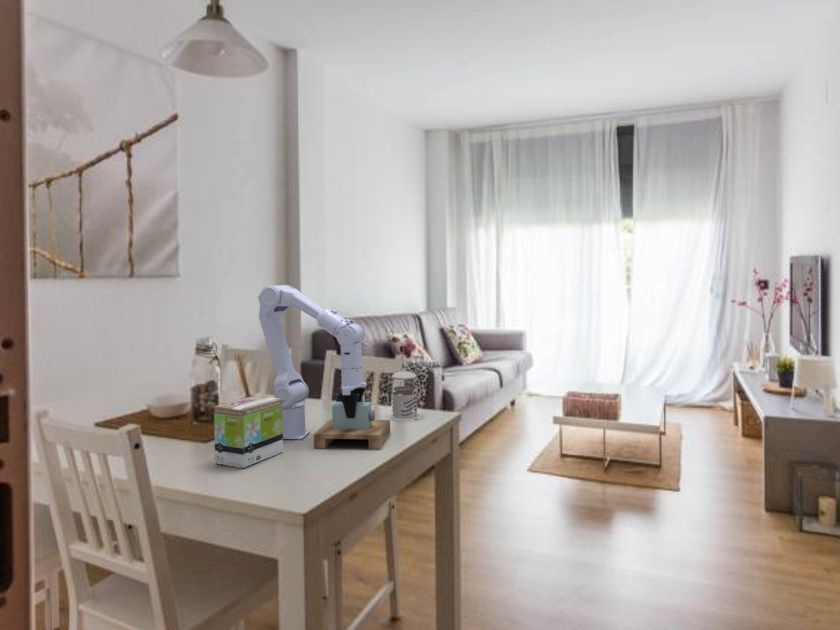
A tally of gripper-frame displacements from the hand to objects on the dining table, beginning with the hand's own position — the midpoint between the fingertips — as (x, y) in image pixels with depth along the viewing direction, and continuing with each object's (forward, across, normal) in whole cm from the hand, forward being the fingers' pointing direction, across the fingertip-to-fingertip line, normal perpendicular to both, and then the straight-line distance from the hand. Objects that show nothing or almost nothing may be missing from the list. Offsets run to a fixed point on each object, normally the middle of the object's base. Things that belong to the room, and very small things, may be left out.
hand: (353, 415), depth 166 cm
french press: (+7, +28, -11) cm, 31 cm away
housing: (+3, 0, 0) cm, 3 cm away
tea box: (+7, -17, +23) cm, 30 cm away
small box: (+7, +18, +5) cm, 20 cm away
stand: (+7, 0, 0) cm, 7 cm away
